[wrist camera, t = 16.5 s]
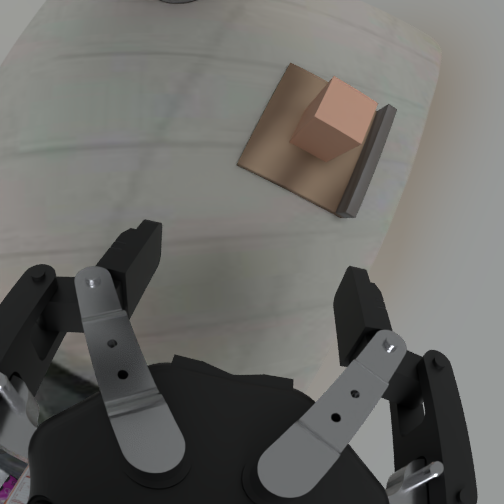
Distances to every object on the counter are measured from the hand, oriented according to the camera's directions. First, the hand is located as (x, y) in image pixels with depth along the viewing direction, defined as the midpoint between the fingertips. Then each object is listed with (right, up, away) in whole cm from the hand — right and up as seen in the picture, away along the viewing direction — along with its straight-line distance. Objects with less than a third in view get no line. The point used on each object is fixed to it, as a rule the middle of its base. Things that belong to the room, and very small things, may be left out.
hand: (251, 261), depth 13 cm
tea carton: (+7, +13, +20) cm, 25 cm away
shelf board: (+7, +13, +21) cm, 26 cm away
